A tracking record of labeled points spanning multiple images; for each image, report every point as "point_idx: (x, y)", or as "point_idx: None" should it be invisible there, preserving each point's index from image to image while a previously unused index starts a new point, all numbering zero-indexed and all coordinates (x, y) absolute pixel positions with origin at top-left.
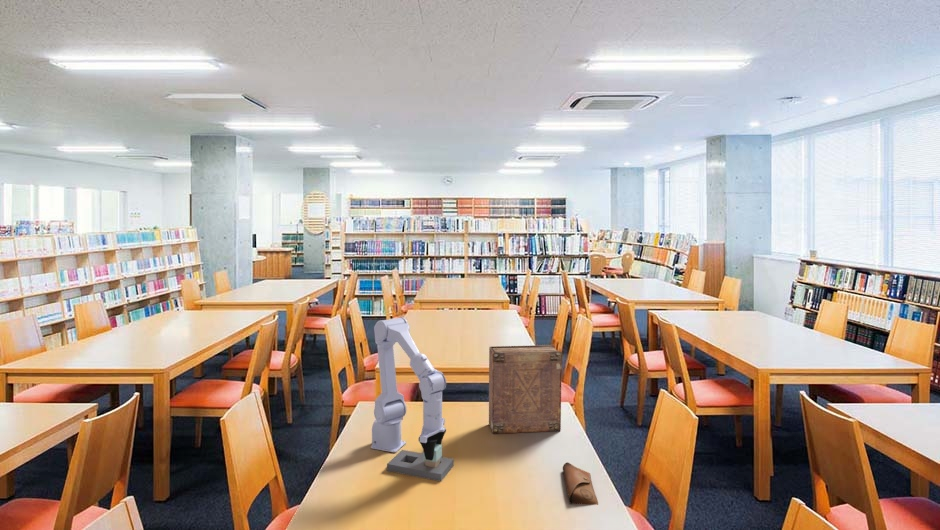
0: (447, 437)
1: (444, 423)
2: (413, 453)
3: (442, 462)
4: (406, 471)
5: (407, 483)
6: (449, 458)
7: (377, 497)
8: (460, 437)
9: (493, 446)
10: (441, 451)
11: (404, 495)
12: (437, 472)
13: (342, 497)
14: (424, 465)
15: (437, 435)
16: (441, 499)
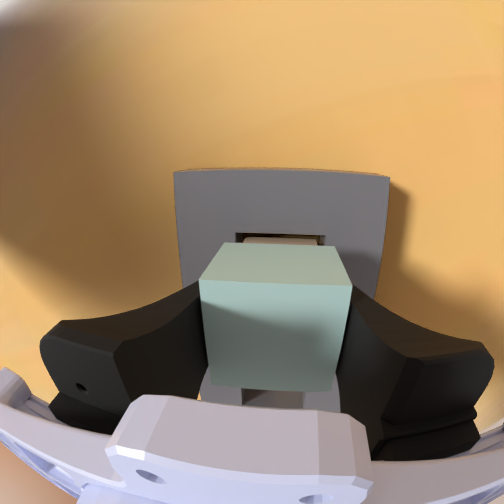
0: (28, 291)
1: (1, 373)
2: (213, 386)
3: (242, 222)
4: None
5: (416, 317)
6: (177, 200)
7: None
8: (9, 248)
9: (11, 106)
10: (227, 256)
11: (486, 287)
12: (375, 207)
13: None
14: None
15: (167, 382)
16: (491, 135)
